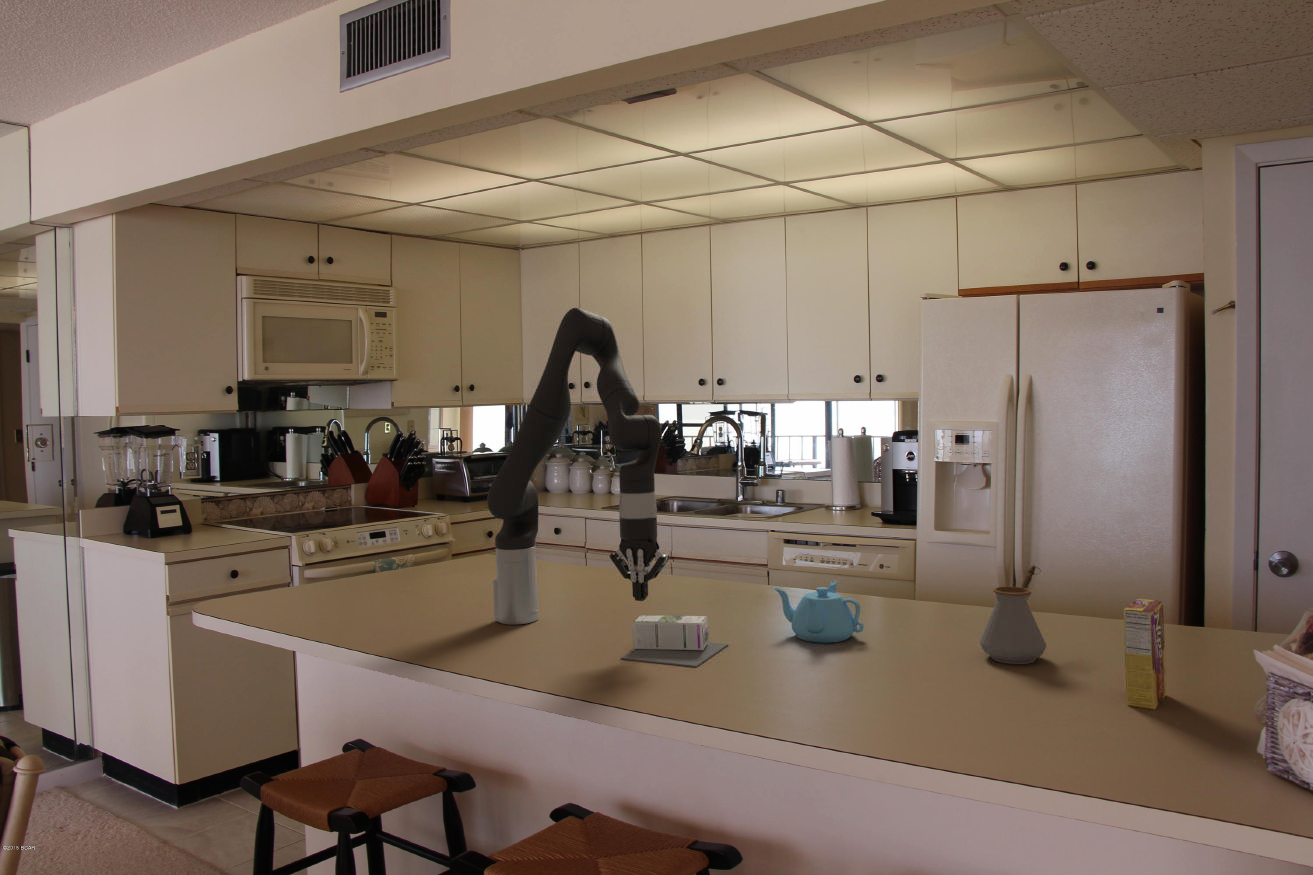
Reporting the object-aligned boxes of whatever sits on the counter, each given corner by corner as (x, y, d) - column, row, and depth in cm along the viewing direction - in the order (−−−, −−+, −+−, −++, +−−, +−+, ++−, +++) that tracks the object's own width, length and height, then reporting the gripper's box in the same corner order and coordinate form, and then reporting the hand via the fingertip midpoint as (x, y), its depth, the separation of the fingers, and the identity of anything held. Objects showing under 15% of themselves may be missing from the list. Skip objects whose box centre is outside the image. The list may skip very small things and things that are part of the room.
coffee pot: (1036, 671, 159) (1035, 586, 158) (971, 661, 166) (969, 580, 165) (1067, 643, 176) (1066, 567, 175) (1006, 635, 183) (1005, 562, 182)
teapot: (873, 641, 182) (872, 591, 182) (807, 649, 177) (806, 598, 177) (836, 625, 196) (835, 578, 196) (773, 632, 191) (772, 584, 191)
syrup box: (632, 649, 180) (704, 652, 177) (631, 620, 180) (703, 622, 177) (639, 641, 186) (709, 644, 183) (638, 613, 186) (708, 615, 182)
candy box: (1137, 690, 147) (1136, 597, 147) (1167, 695, 144) (1166, 600, 144) (1123, 705, 140) (1122, 608, 140) (1154, 710, 138) (1153, 611, 137)
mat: (621, 658, 175) (620, 657, 175) (657, 638, 189) (657, 637, 189) (696, 667, 168) (696, 665, 168) (728, 645, 182) (728, 643, 182)
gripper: (600, 516, 180) (602, 601, 181) (659, 517, 175) (662, 606, 175) (618, 511, 187) (620, 594, 188) (675, 513, 181) (678, 598, 182)
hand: (640, 599), depth 181 cm, fingers closed
